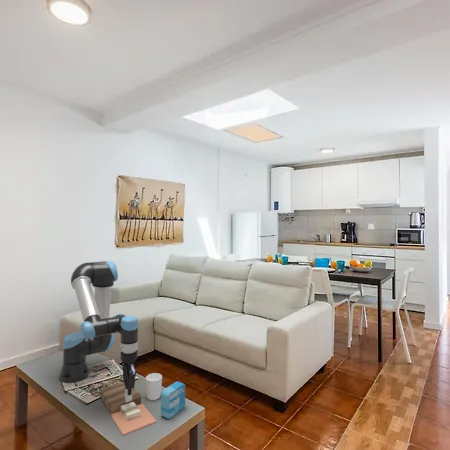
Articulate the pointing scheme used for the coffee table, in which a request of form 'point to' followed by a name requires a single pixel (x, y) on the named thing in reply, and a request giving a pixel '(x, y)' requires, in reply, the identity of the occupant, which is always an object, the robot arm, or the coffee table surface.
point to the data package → (172, 399)
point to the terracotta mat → (133, 421)
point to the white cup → (153, 386)
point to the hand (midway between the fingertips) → (128, 400)
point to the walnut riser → (117, 397)
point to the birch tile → (130, 411)
